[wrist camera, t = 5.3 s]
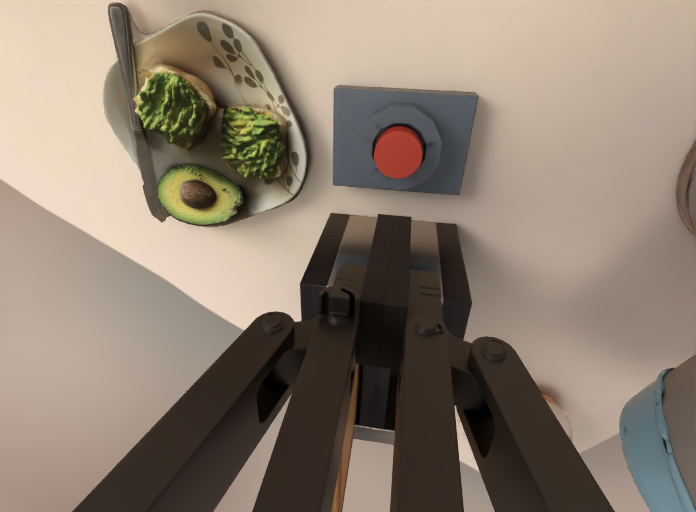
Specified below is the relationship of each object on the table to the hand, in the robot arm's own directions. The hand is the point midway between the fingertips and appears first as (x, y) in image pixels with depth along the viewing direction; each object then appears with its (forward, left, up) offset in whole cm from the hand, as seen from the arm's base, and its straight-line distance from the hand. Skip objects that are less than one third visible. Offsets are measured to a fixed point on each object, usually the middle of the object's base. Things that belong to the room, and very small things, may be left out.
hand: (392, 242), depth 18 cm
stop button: (0, 0, -15) cm, 15 cm away
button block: (0, 0, -18) cm, 18 cm away
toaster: (0, +16, -18) cm, 24 cm away
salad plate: (+17, +1, -18) cm, 25 cm away
